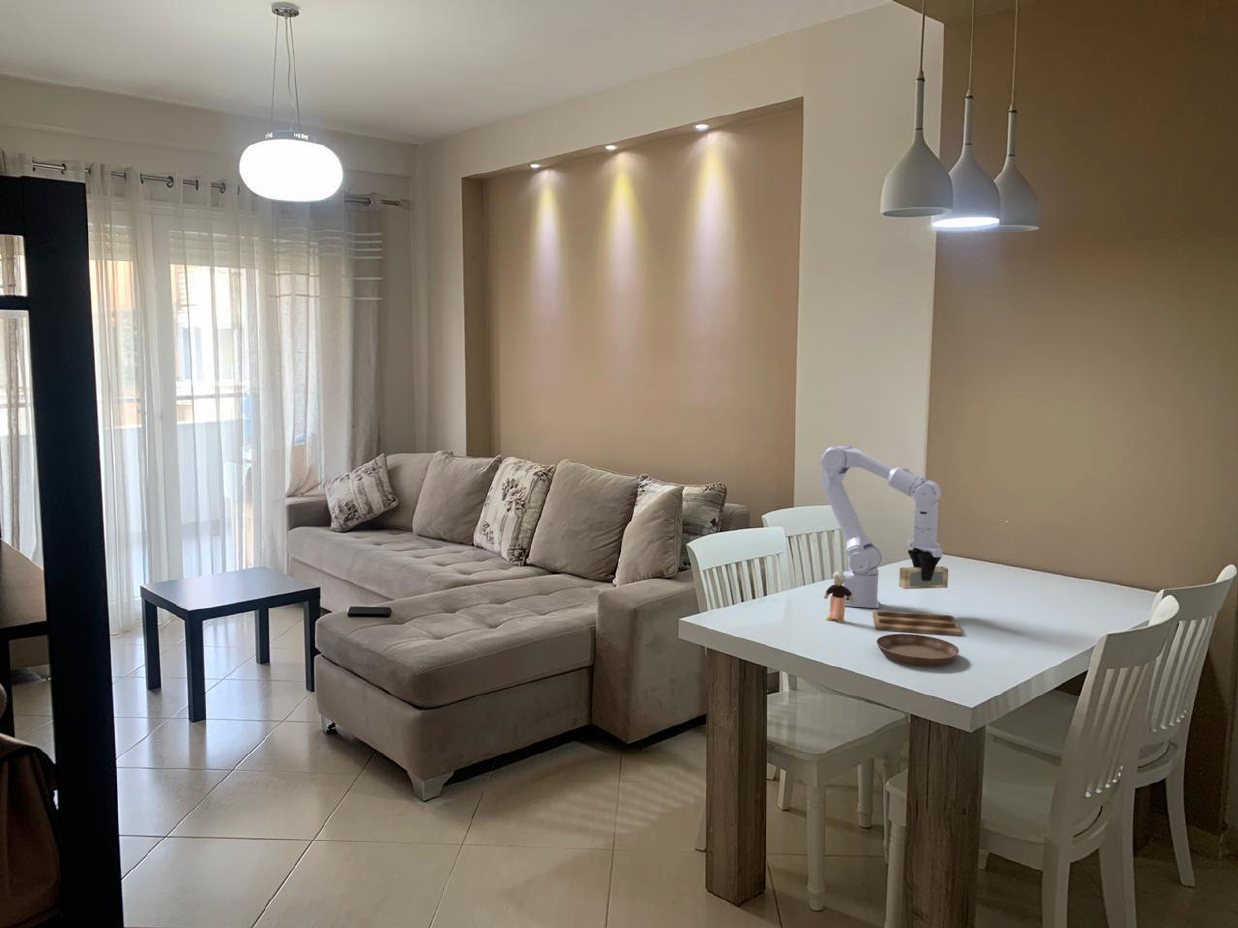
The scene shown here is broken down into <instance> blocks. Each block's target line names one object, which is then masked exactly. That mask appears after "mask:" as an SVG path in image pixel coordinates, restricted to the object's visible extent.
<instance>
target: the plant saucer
mask: <svg viewBox="0 0 1238 928" xmlns="http://www.w3.org/2000/svg"><path fill="white" fill-rule="evenodd" d="M875 643H876V645H877V647H878V649H879V650H880V652H881V654H883V655H884V656H885V657H886V658H887V659H888V660H890V661H893V662H896V663H898V664H902V665H906V666H910V667H911V666H912V667H917V668H918V667H921V668H922V667H923V668H937V667H942V666H946V665H948V664H949V663H951V662H952V661H953V660H954V659H955V658H956V657H957V655H959V653H960V649H959V647H958V646H957V645H955V644H954V643H951V642H949V641H947V640H944V639H941V638H938V637H933V636H928V635H922V634H913V633H911V634H910V633H891V634H885V635H881V636H879V637H878V638H877V639H876V641H875Z"/></svg>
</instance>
